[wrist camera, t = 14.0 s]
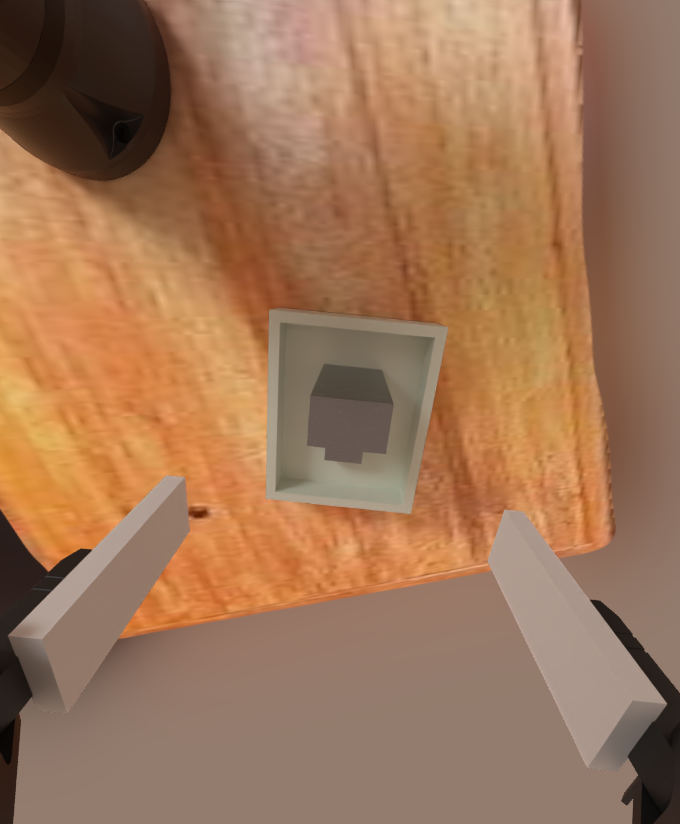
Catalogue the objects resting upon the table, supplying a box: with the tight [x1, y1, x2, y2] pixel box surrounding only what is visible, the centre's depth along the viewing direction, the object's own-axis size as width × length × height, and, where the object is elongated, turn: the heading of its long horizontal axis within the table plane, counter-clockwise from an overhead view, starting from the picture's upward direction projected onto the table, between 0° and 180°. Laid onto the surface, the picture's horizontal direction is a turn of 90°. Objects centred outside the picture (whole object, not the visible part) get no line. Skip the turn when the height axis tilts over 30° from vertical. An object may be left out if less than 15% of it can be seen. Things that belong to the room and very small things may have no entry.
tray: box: [266, 308, 448, 514], centre depth 35 cm, size 20×16×4 cm
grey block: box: [307, 364, 394, 464], centre depth 30 cm, size 10×6×11 cm, turn 175°
